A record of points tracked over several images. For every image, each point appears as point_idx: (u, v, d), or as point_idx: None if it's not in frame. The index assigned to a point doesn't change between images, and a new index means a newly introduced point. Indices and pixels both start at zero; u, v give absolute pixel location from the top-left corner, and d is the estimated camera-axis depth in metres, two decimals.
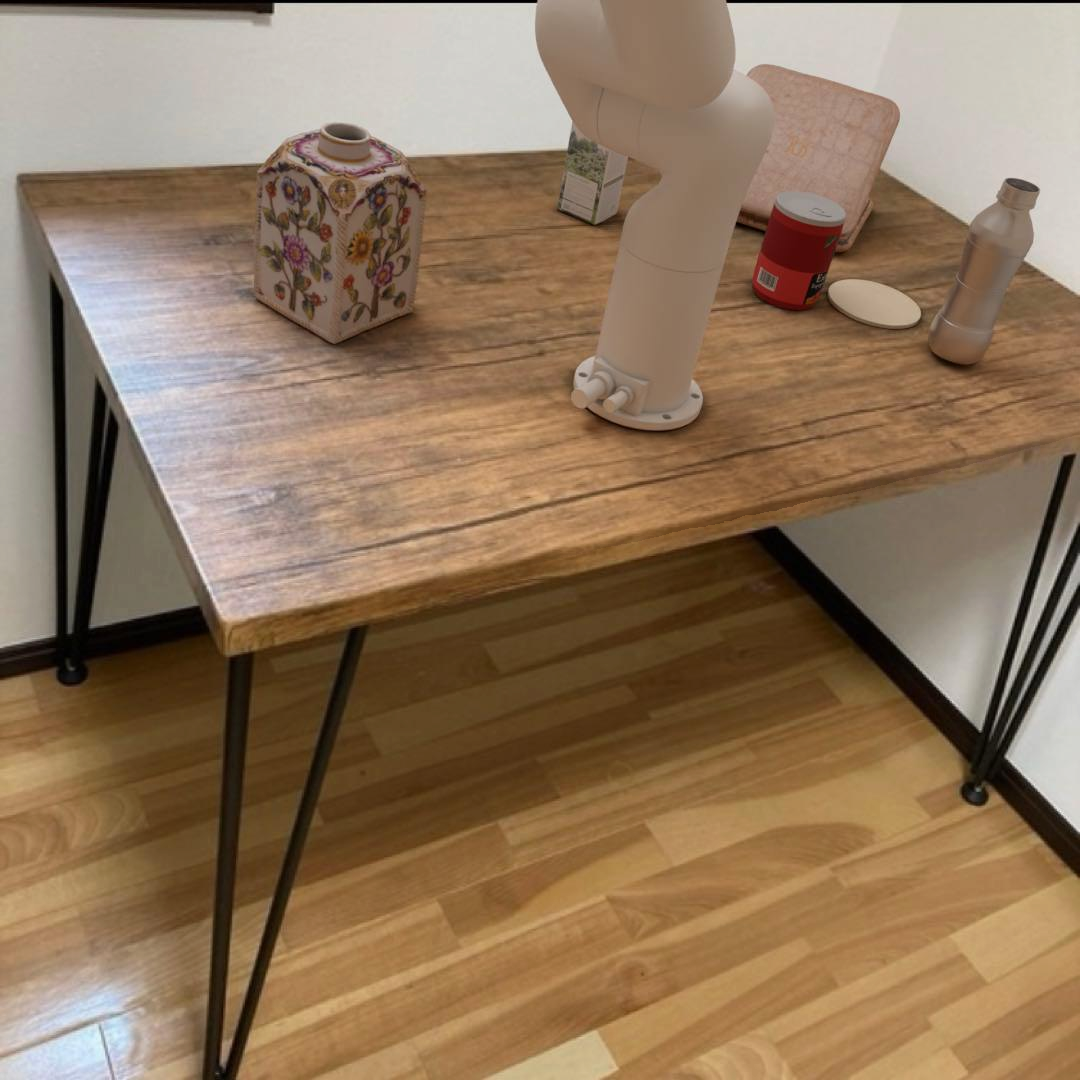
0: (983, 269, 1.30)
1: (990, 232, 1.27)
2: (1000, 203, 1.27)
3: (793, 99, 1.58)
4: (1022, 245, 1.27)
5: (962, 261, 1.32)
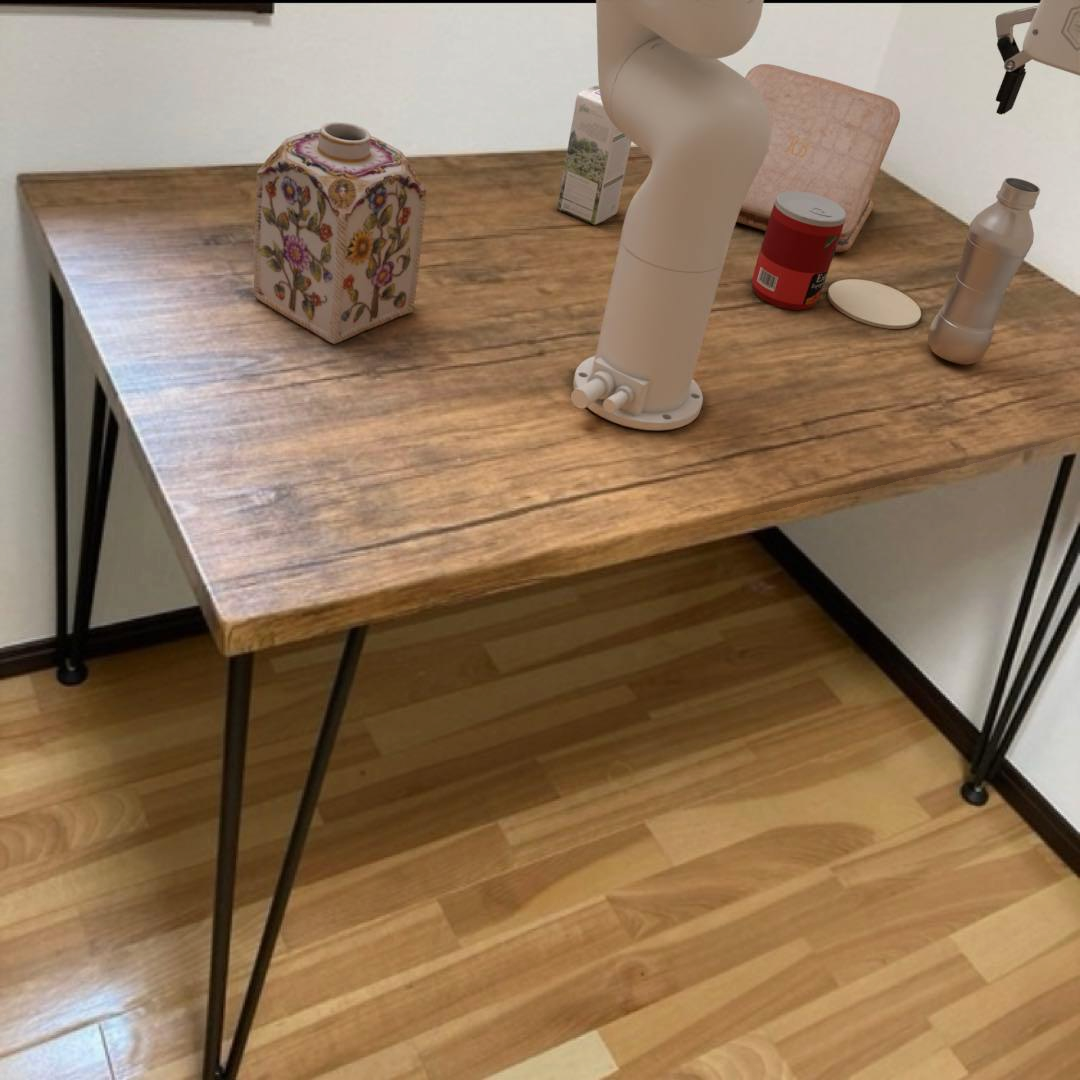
0: (983, 269, 1.30)
1: (990, 232, 1.27)
2: (1000, 203, 1.27)
3: (793, 99, 1.57)
4: (1022, 245, 1.27)
5: (962, 261, 1.32)
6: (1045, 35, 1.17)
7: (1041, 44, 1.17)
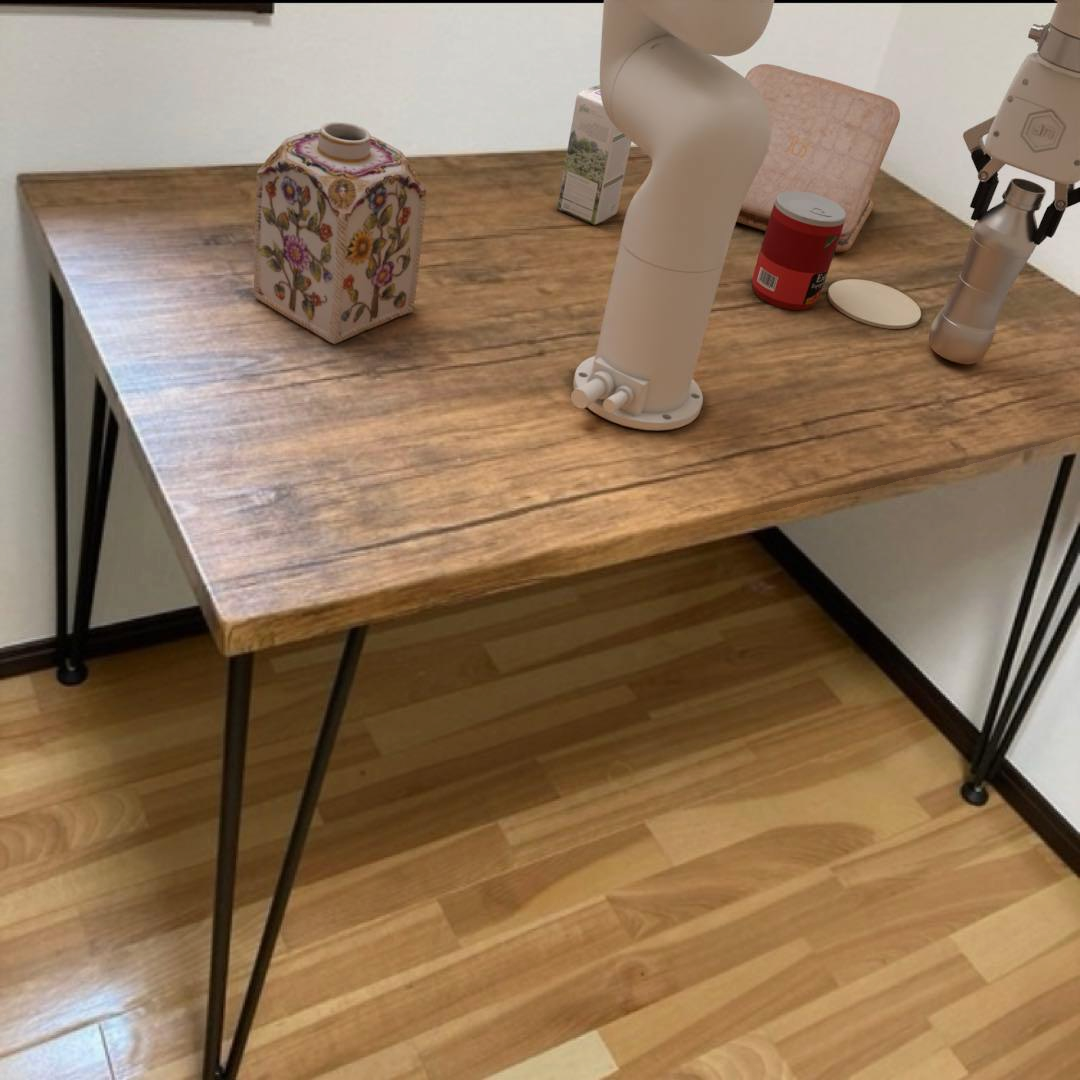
0: (987, 269, 1.30)
1: (996, 232, 1.27)
2: (1006, 203, 1.27)
3: (793, 99, 1.58)
4: (1027, 246, 1.27)
5: (966, 260, 1.32)
6: (1005, 137, 1.23)
7: (1001, 145, 1.23)
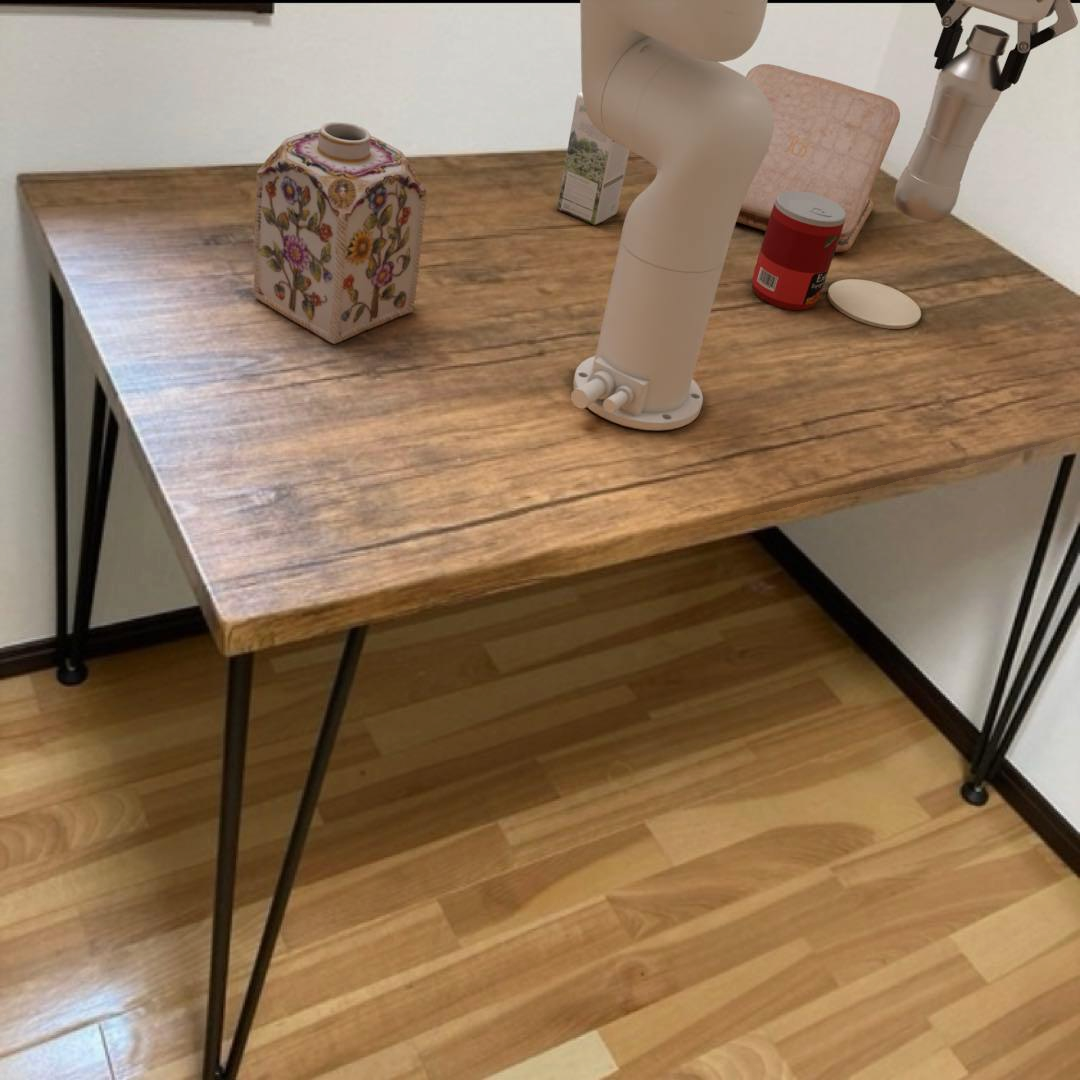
0: (951, 119, 1.28)
1: (959, 78, 1.26)
2: (969, 49, 1.26)
3: (793, 99, 1.58)
4: (990, 93, 1.26)
5: (930, 112, 1.30)
6: None
7: None
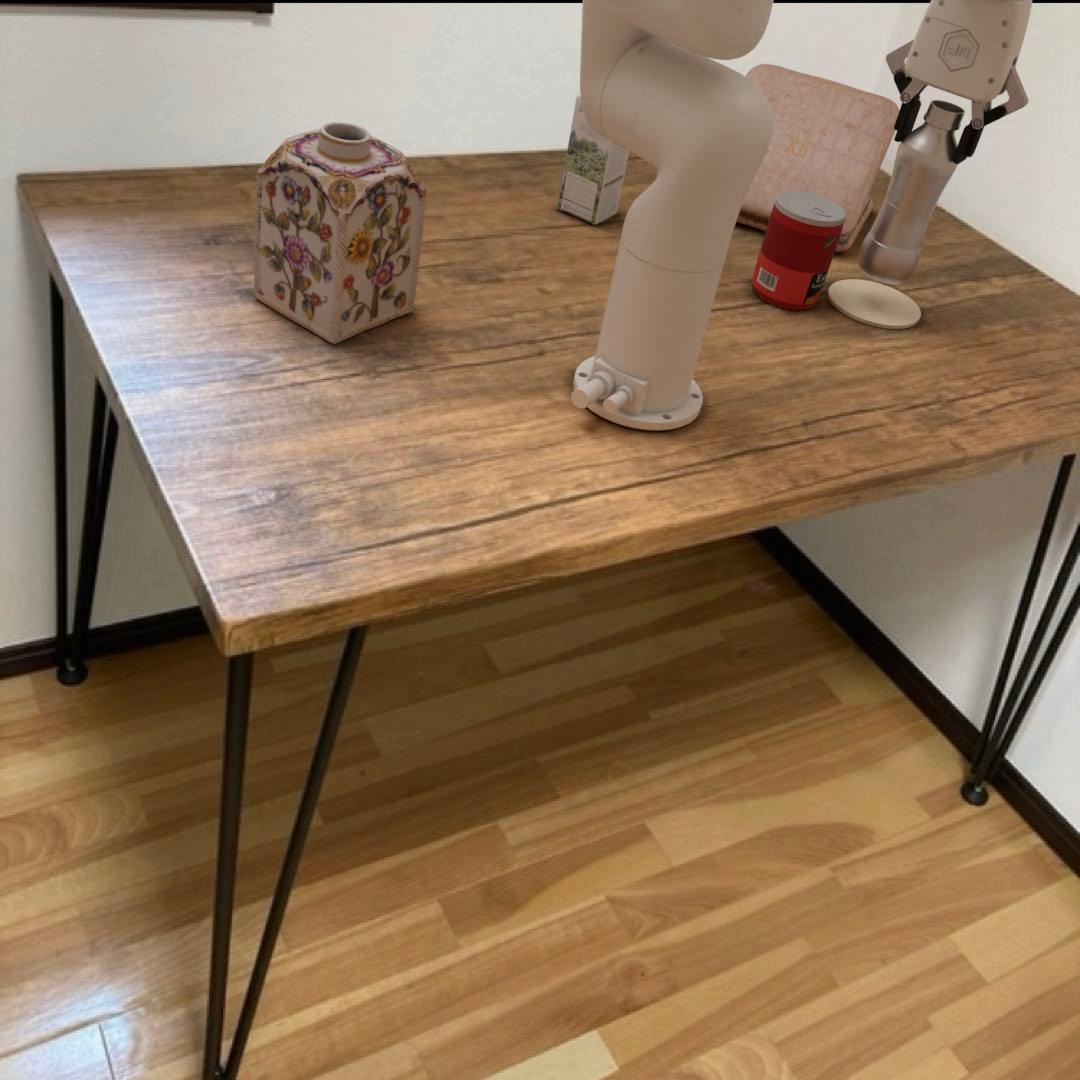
0: (910, 189, 1.34)
1: (917, 152, 1.32)
2: (927, 124, 1.32)
3: (793, 99, 1.57)
4: (947, 165, 1.32)
5: (890, 182, 1.36)
6: (924, 57, 1.28)
7: (920, 66, 1.28)
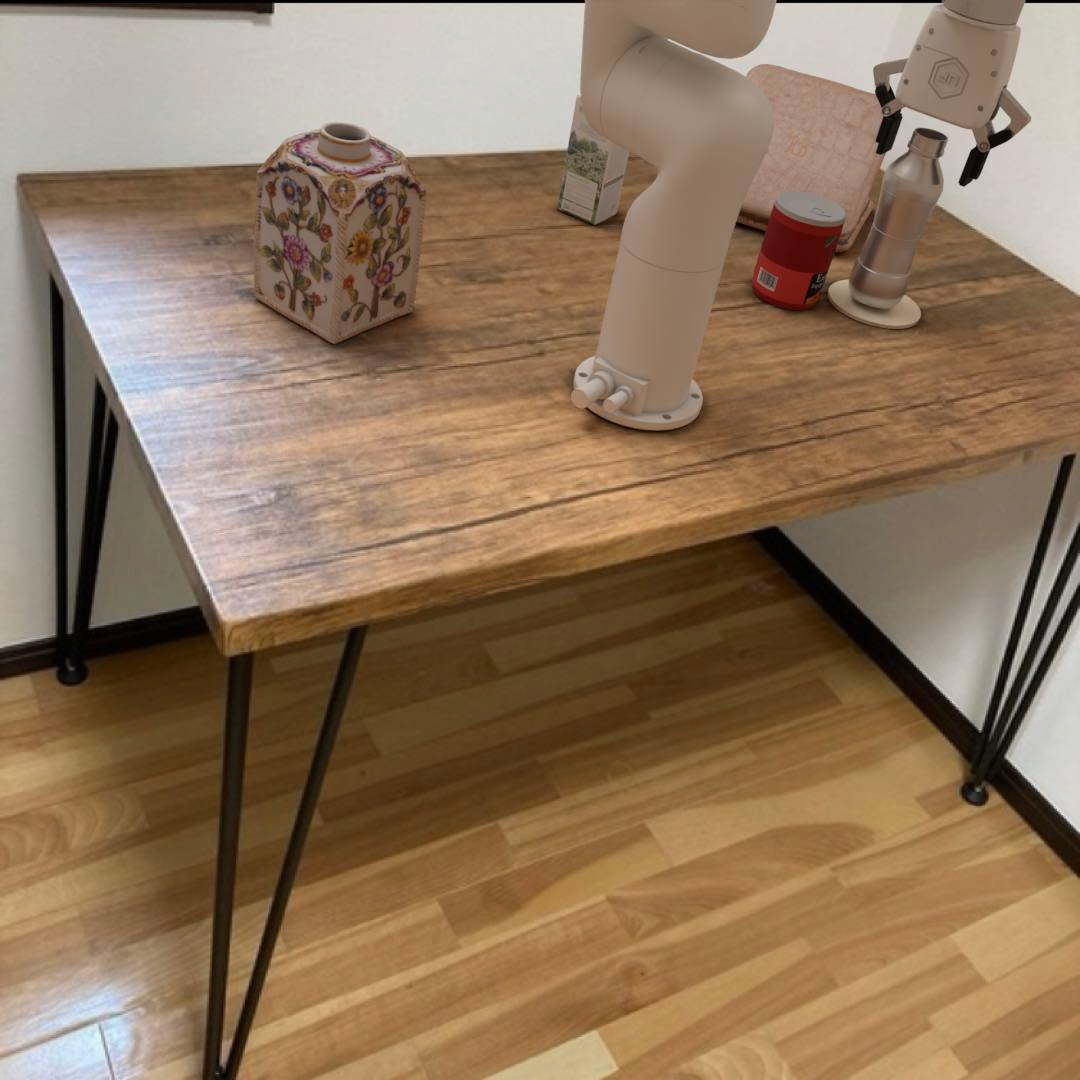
0: (896, 216, 1.36)
1: (902, 179, 1.34)
2: (911, 151, 1.34)
3: (793, 99, 1.58)
4: (932, 191, 1.34)
5: (877, 208, 1.38)
6: (914, 85, 1.29)
7: (911, 93, 1.30)
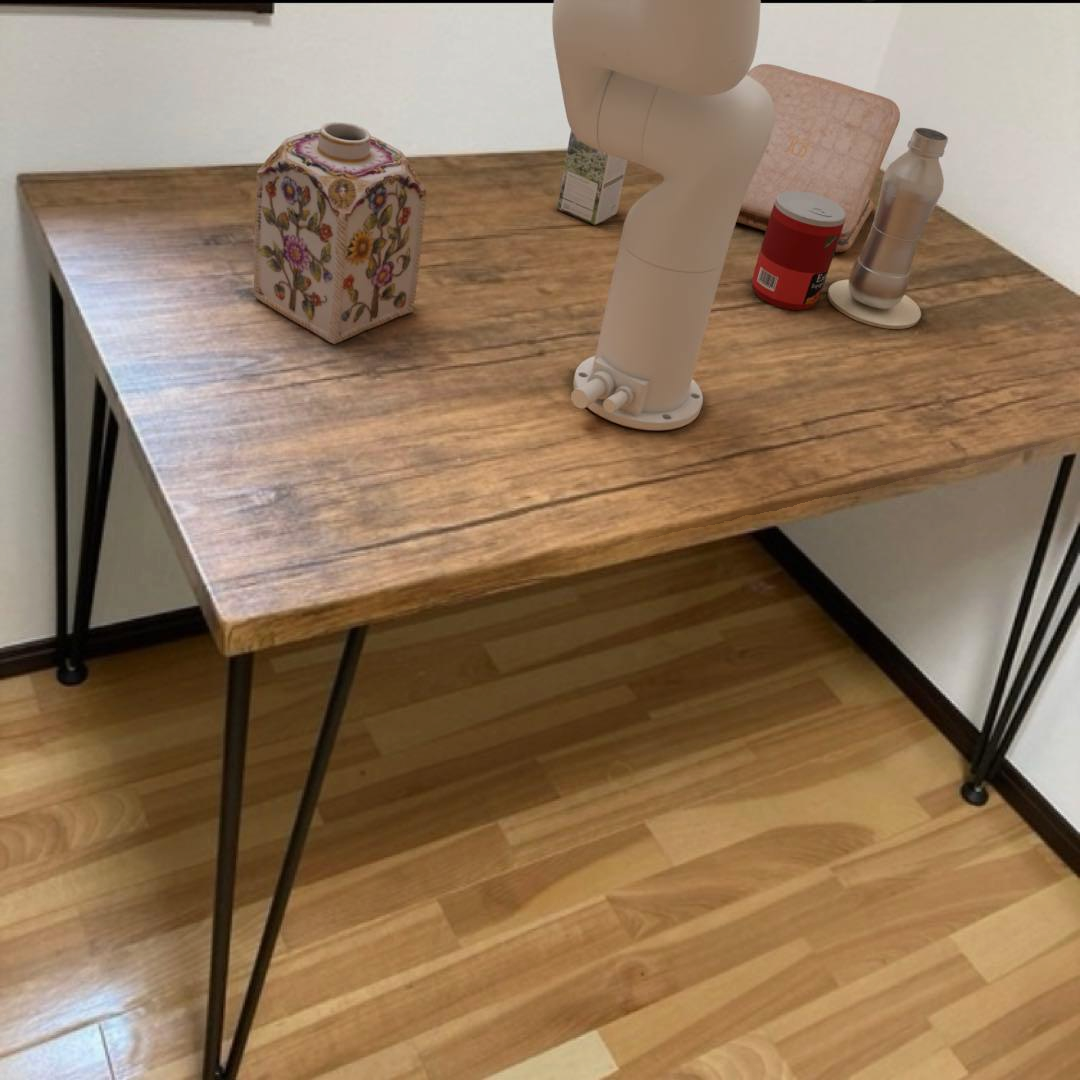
0: (896, 216, 1.36)
1: (902, 179, 1.34)
2: (911, 151, 1.34)
3: (793, 99, 1.58)
4: (932, 191, 1.34)
5: (877, 208, 1.38)
6: None
7: None
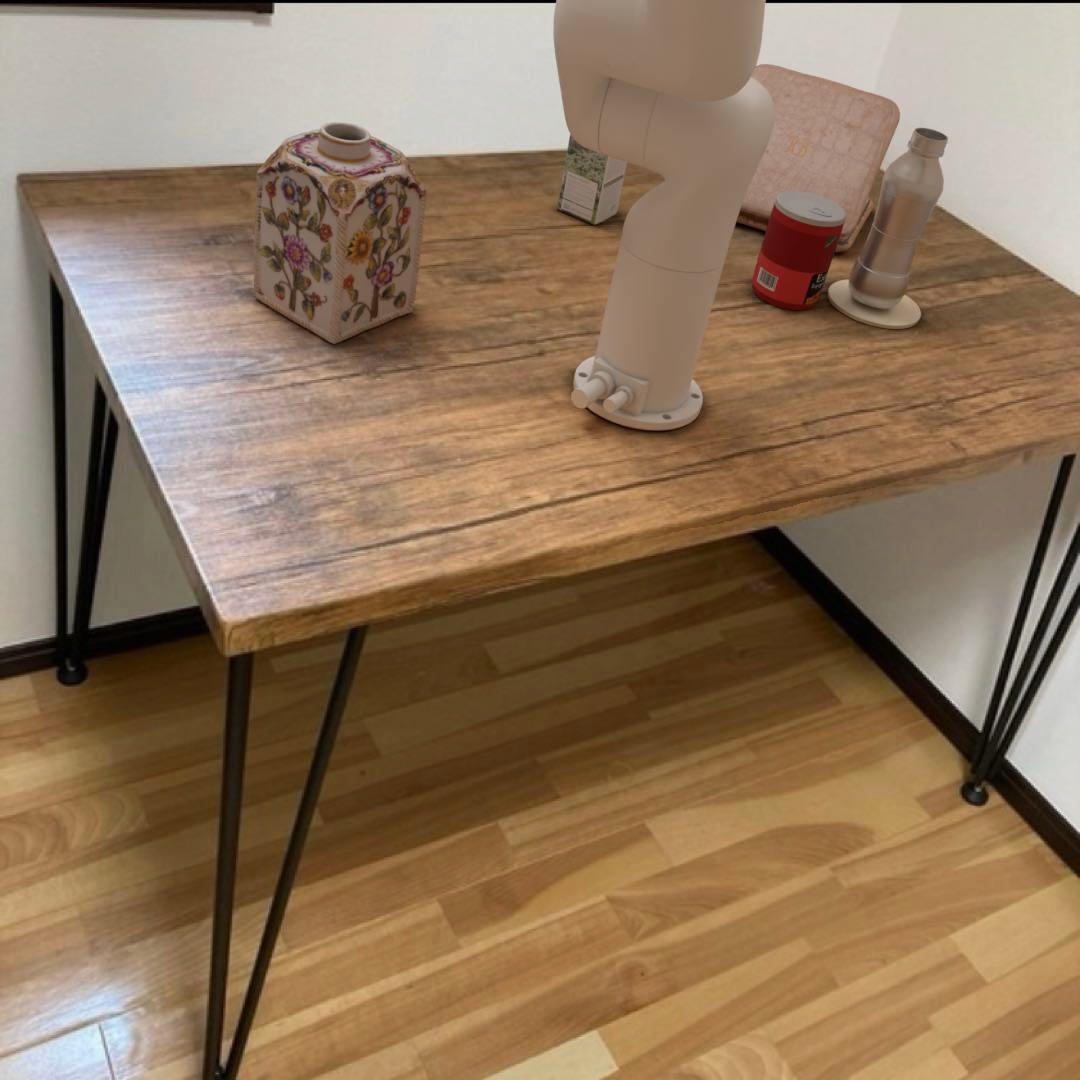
0: (896, 216, 1.36)
1: (902, 179, 1.34)
2: (911, 151, 1.34)
3: (793, 99, 1.58)
4: (932, 191, 1.34)
5: (877, 208, 1.38)
6: None
7: None
